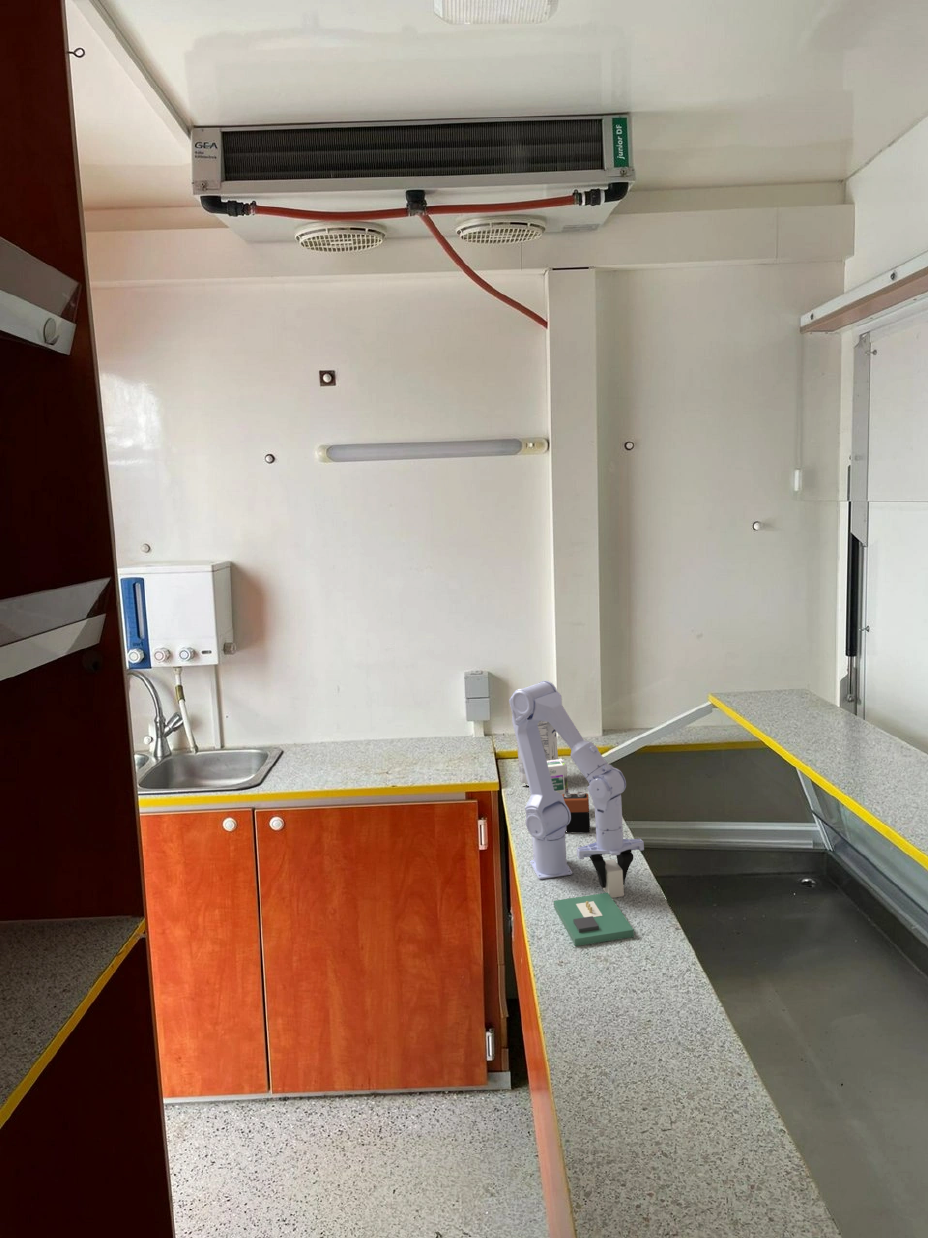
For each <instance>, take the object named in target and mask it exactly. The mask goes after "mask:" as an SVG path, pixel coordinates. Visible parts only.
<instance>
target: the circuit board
mask: <svg viewBox="0 0 928 1238" xmlns="http://www.w3.org/2000/svg"><path fill="white" fill-rule="evenodd" d="M553 908H554V910H555V912H556V914H557V916H558V919H560V921H561V923H562V925H563V926H564V928H565V931H566V932H567V934H568V936H569V938H570V940H571V942H572V944H573V945H574V946H575V947H578V946H584V945H591V944H598V943H605V942H609V941H615V940H621V939H627V938H628V939H629V938H634V937H635V931H634V928H633V926H632V925H631V923H629V921H628V919H627V918H626V917H625V914H623V912H622V911H621V909H620V908H619V906H618V904H616V902H615V901H614V899H613V898H611V896H610V895H609V894H608V893H606V892H602V893H595V894H589V895H583V896H576V897H570V898H563V899H556V900H553Z"/></svg>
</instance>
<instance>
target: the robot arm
mask: <svg viewBox="0 0 928 1238" xmlns="http://www.w3.org/2000/svg"><path fill="white" fill-rule="evenodd" d="M562 700H563V699H562V695H561V693H560V692H559V691H558V689H557V688H556V686H555V685H554V684H553V682H551V681H549V680H542V681H540V682H539V683H535V684H532V685H529V686H526V687H523V688H518V689H515V691H514V692H513V693H512V695H511V696H510V698H509V700H508V703H509V706H510V710H511V715H512V716H511V721H512V726H513V731H514V734H515V739H516V742H517V743H518V746H517V748H518V747H519V751H520V755H521V759H522V762H523V766H524V770H525V774H526V778H527V782H528V786H529V787H528V790H529V792H530V793H529V794H530V797H529V798H528V800H527V802H526V805H525V806H524V810H525V827H526V829H527V831H528V834H530V835H531V842H532V853H533V854H532V855H533V859H531V860H529V864H530V863H531V864H530V866H531V865H532V866H531V867H533V868H532V869H533V871H534V873H535V875H536V877H537V878H538V879H539V880H543V879H545V880H546V879H551V878H557V877H563V876H570V875H573V871H572V869H571V868H570V866H569V864H568V863H567V846H566V844H567V843H566V833H565V831H566V826H567V825H568V824H569V823H570V820H571V814H570V810H569V808H568V807H567V805H566V804H565V801H564V798H563V795H561V794H560V793H558V792H556V791H554V788H553V784H552V780H551V776H550V772H549V768H548V764H547V760H546V757H545V753H544V749H543V745H542V741H541V737H540V733H539V729H538V723H539V721H546V722H549V723H550V724H551V725H552V727H553V728H554V729H555V730H556V734H558V735H559V737H560V738H561V739H562V740H563V741H564V743H566V745H567V746H568V747H569V749H570V751H571V752H570V758H571V760H572V761H573V763H574V764H575V765H576V766H575V767H577V769H578V771H580V773H581V774H582V776H583V777H584V778H585V780H586V781H587V782H588V784H589V785H588V786H587V791H588V795H589V796H590V797H591V799H592V806H593V807H594V816H595V817H594V819H595V821H594V822H595V836H596V841H594V842H592V843H588V844H585V845H583V846H578V847H576V857H577V859H579V860H584V859H585V858H589V859H590V861H591V862H592V864H593V867H594V869H595V872H596V875H597V878H598V882H599V885H600V887H601V888H602V889H603V888H606V881H605V865H606V862H605V861H606V860H605V859H604V855H611V856H615V857H616V862H617V864H618V865H619V866H620V867H621V869H622V870H623V886H625V884H626V883H625V882H626V878H627V875H628V872H629V868H630V866H631V864H632V863H633V860H634V853H633V852H632V851H637V850H638V851H644V850H645V845H644V840H642V839H641V838H624V831H623V830H624V829H623V810H622V809H623V808H622V807H623V806H622V805H623V804H622V793H623V792H624V791H625V790H626V788H627V782H626V778H625V776H624V774H623V772H622V771H621V770H620V769H619V768H616V767H614V766H613V765H612V764H610V763H608V762H607V761H606V760H605V758H604V757H603V755H602V754H601V752H600V751H599V748H598V747H597V745H595V744H594V742H592V741H590V740H589V741H588V740H585V739H584V737H582V735H581V733H580V732H579V730H578V728H577V727H576V725H575V723H574V722H573V719H571V717H570V715H569V714H568V712H567V711H566V709H565V707H564V706H563V702H562ZM517 743H516V744H517ZM532 862H533V863H532Z"/></svg>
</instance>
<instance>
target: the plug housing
mask: <svg viewBox="0 0 928 1238" xmlns="http://www.w3.org/2000/svg"><path fill="white" fill-rule="evenodd" d="M604 861H605V862H606V865H605V881H606V888H602V889H603V891H604V893H608V894H609V895H610V896H611V898H612V899H613V898H621V897H624V895H625V891H624V885H623V870H622V869H621V867H620V866H619V865H618V863H617V860H616V859H613V858H612V859H607V860H604Z"/></svg>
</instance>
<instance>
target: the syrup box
mask: <svg viewBox="0 0 928 1238" xmlns="http://www.w3.org/2000/svg"><path fill="white" fill-rule="evenodd" d="M547 764H548V768H549V772H550V776H551V780H552V784H553V788H554V791H556V792H558V793H560V794H561V795H562V794H565V793H569V781H568V766H567V763H566V762H565V761H564V759H562V758H558V759H557V760H549V761H547Z"/></svg>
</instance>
